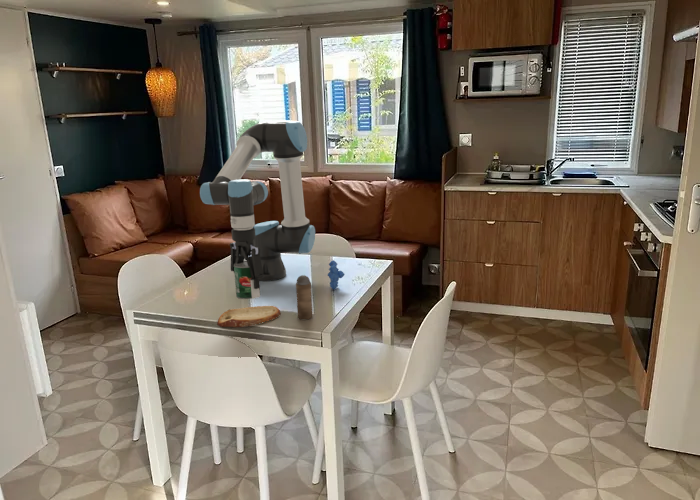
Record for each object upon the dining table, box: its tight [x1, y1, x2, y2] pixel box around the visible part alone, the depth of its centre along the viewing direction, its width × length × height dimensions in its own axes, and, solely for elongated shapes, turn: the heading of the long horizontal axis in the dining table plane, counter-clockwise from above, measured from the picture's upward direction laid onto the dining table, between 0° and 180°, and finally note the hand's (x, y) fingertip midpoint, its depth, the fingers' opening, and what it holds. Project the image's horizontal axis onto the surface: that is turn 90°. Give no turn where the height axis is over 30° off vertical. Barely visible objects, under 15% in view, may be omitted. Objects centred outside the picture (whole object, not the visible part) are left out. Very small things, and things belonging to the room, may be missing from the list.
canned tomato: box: [233, 260, 261, 300], centre depth 185 cm, size 8×8×11 cm
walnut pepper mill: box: [295, 274, 314, 320], centre depth 188 cm, size 5×5×15 cm
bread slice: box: [216, 305, 282, 328], centre depth 190 cm, size 18×18×4 cm
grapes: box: [327, 260, 345, 291], centre depth 217 cm, size 12×7×12 cm, turn 1°
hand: (248, 294), depth 186 cm, fingers closed on canned tomato, 8 cm apart
